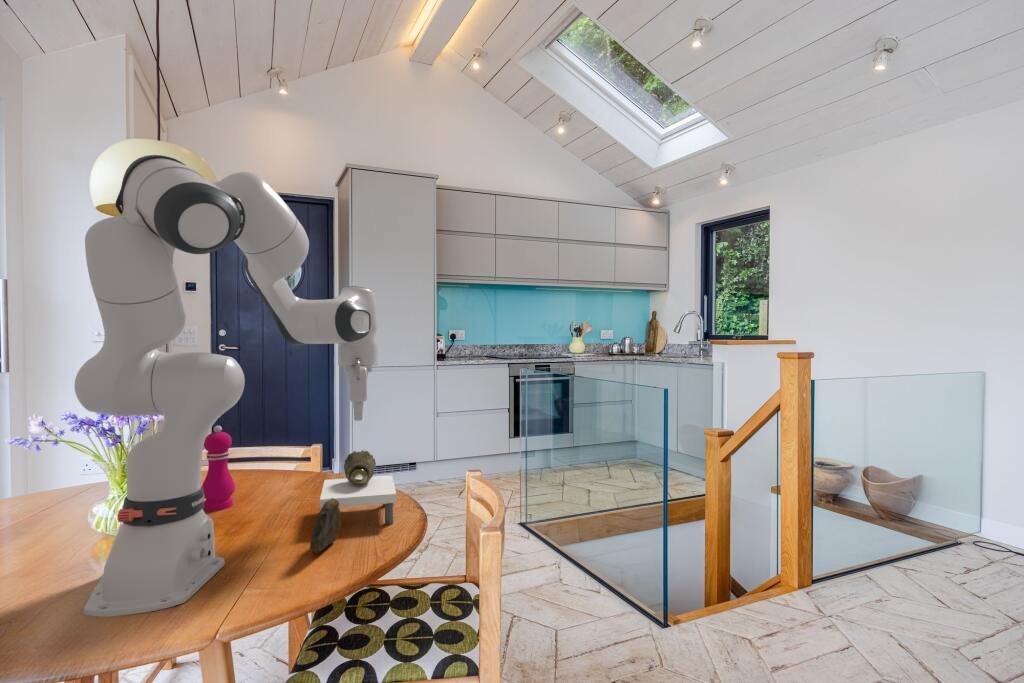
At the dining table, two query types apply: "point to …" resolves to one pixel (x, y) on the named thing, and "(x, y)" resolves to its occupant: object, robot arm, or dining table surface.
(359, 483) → the cup
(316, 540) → the decorative stone
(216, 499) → the pepper mill
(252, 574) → the dining table surface
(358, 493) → the footstool
